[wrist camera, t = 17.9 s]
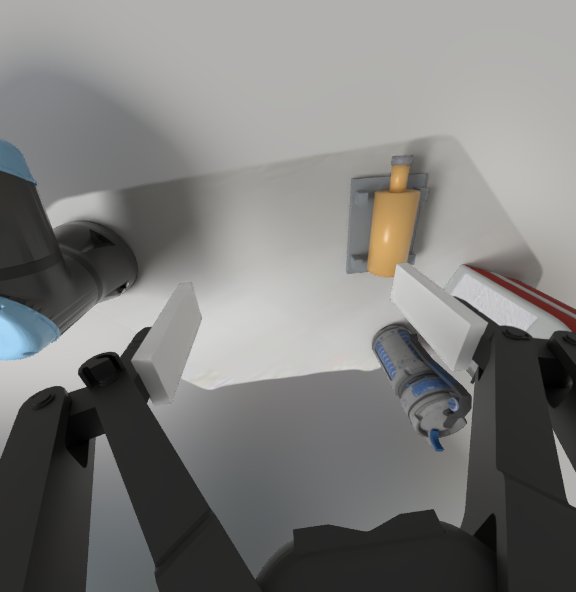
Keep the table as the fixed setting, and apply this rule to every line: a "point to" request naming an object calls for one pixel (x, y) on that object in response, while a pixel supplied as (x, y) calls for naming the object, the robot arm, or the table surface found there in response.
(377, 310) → the table surface
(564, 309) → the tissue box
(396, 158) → the amber bottle
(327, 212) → the table surface
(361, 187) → the u rest
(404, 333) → the smoke grenade
